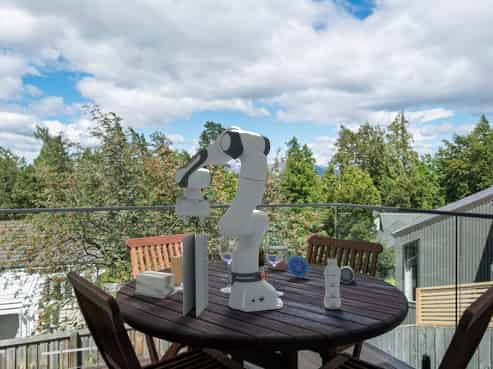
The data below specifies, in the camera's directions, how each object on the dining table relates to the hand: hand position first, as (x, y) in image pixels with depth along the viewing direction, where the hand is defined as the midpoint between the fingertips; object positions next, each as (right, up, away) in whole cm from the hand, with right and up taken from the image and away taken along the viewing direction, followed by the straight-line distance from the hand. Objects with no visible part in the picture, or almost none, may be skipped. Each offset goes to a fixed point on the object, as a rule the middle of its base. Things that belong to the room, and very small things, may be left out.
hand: (193, 224), depth 201 cm
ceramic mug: (+75, -29, +3) cm, 81 cm away
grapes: (+53, -29, +10) cm, 62 cm away
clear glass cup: (+45, -29, +38) cm, 66 cm away
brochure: (+6, -30, -41) cm, 51 cm away
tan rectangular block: (-8, -28, -3) cm, 30 cm away
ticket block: (-12, -30, -10) cm, 34 cm away
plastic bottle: (+61, -30, -40) cm, 78 cm away
